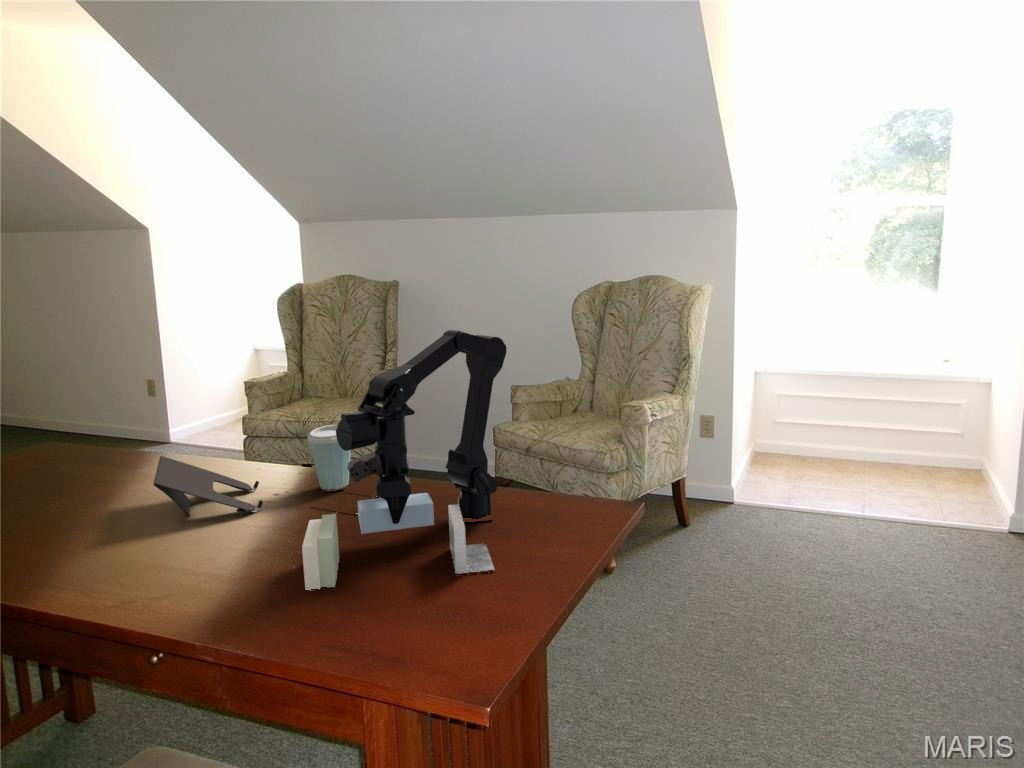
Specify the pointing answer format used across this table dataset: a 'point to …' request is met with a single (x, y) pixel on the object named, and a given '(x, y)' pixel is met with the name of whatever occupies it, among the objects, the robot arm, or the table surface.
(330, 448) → the disposable coffee cup
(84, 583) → the table surface
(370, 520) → the light blue rectangular block
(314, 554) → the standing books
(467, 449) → the robot arm
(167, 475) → the portable electronic device stand
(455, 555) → the l-shaped bookend
